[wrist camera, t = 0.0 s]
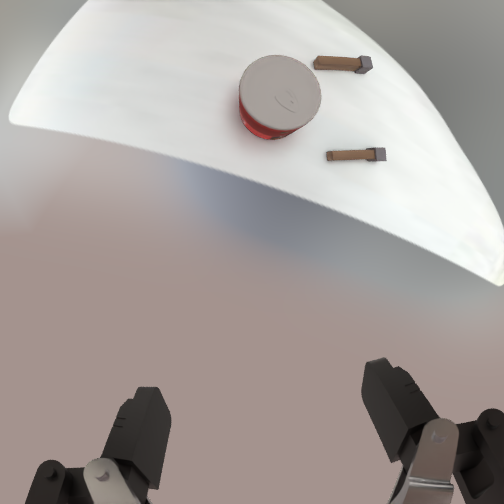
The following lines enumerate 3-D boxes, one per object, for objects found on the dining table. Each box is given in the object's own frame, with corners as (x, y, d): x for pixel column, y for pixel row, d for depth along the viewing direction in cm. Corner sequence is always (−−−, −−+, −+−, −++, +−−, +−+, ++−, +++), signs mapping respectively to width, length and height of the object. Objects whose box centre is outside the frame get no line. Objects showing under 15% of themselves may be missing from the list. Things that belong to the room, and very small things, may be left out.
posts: (352, 62, 31) (360, 55, 28) (362, 63, 31) (370, 56, 28) (367, 161, 35) (376, 161, 32) (376, 160, 35) (386, 161, 32)
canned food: (277, 151, 35) (293, 145, 24) (226, 117, 33) (221, 97, 23) (310, 108, 33) (337, 87, 23) (261, 74, 31) (269, 41, 21)
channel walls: (313, 61, 31) (317, 55, 29) (353, 63, 31) (359, 58, 29) (327, 160, 35) (333, 160, 33) (367, 158, 35) (375, 158, 33)
